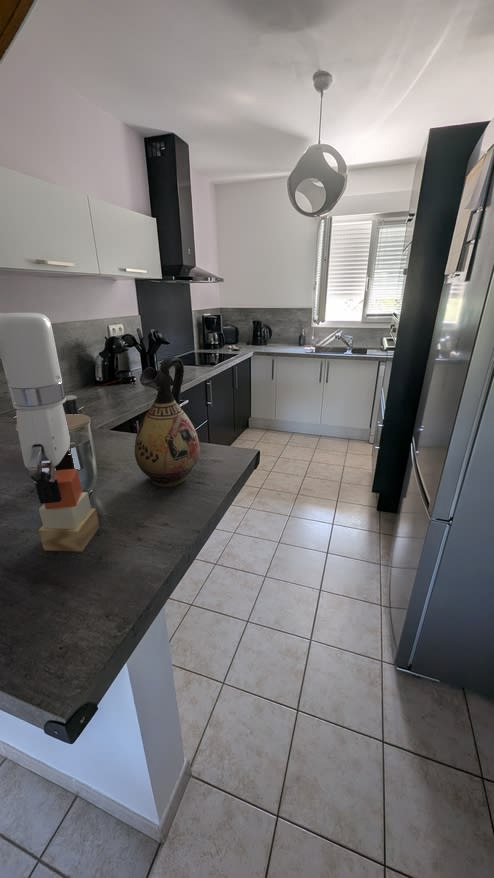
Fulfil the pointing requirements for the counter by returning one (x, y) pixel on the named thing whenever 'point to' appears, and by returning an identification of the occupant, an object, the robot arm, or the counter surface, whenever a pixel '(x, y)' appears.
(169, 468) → the ceramic jug
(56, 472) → the toy cube
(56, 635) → the counter surface
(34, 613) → the counter surface
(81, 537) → the base block
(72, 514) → the middle block
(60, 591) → the counter surface
